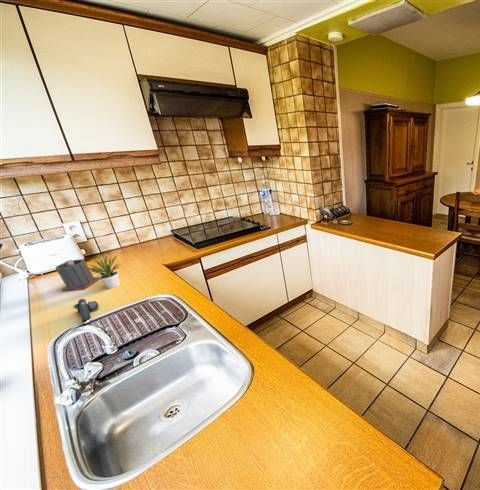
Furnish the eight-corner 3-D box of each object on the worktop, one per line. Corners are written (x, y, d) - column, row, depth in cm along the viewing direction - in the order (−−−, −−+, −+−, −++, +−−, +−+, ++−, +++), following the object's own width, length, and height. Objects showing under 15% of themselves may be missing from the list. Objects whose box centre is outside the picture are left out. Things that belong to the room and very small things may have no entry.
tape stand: (62, 291, 132) (47, 267, 126) (79, 281, 141) (66, 257, 135) (85, 289, 133) (71, 264, 127) (100, 279, 142) (88, 255, 136)
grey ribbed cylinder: (61, 289, 131) (49, 269, 127) (78, 279, 140) (67, 260, 136) (83, 286, 132) (72, 267, 128) (99, 276, 141) (89, 258, 137)
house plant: (127, 274, 145) (114, 247, 138) (138, 280, 138) (125, 252, 132) (93, 287, 134) (77, 258, 127) (103, 294, 127) (87, 264, 121)
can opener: (77, 310, 116) (71, 300, 114) (99, 303, 120) (93, 293, 118) (76, 330, 104) (68, 318, 102) (99, 321, 109) (93, 310, 106)
